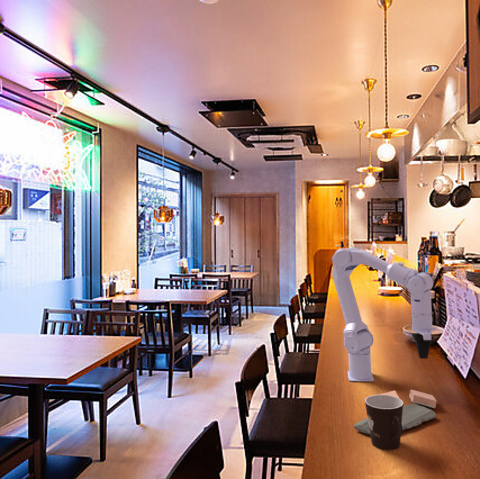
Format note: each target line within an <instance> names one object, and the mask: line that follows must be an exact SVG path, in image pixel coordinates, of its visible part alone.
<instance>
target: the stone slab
mask: <svg viewBox="0 0 480 479" xmlns="http://www.w3.org/2000/svg"><path fill="white" fill-rule="evenodd" d="M436 417H437V413H436V412H435V411H433V410H432V409H430V408H427V407H426V406H424V405H420V404H418V403H411V404H406V405H403V412H402V429H403V431H405V430H408V429H411V428H413V427H417V426H419V425H422V423H424V422H429V421H430V420H433V419H434V418H436ZM353 428H354V429H355V430H357V431H359V432H360V433H363V434H367V435H370V430H369V424H368V418H367V417H366V418H364V419H361V420H359V421H358V422H357V423H355V424H353Z"/></svg>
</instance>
